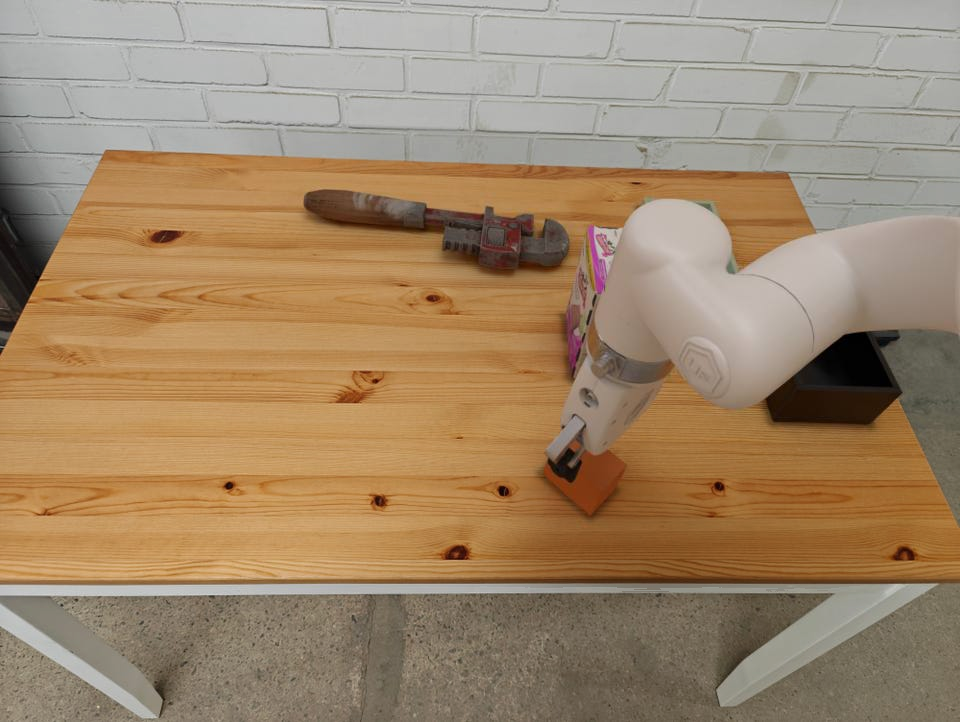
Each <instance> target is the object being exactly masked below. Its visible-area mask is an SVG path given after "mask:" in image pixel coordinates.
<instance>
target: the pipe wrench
mask: <svg viewBox="0 0 960 722" xmlns="http://www.w3.org/2000/svg"><path fill="white" fill-rule="evenodd" d="M302 201H303V202H302V203H303V207H304V209H305V210H306V211H308V212H311V213H313V214H314V215H317V216H320V217H322V218H327V219H331V220H336V221H341V222H346V223H347V222H349V223H356V224H357V223H359V224H367V225H369V224H370V225H378V226H393V227H394V226H396V227H407V228H413V229H414V228H415V229H422V230H423V229H424V228H425V227H426V225H427V226H436V227H443V228H444V232H443V237H442V244H441V245H442V246H441V251H442V252H446V251H449V252H450V253H454V252H457V253H458V254H463V253H466V254H467V255H472V254H475V256H478V261H477V263H478V265H482V266H485V267H489V268H494V269H495V268H496V269H506V270H515V269H518V267H519V262H528V263H535V264H536V263H537V264H540V265H542V266H543V267H554V266H557V265H559V264H560V263H561V262H562V261H563V260H564V259H565V258H566V257H567V255H568V253H569V250H570V246H571V245H570V244H571V243H570V237H569V234H568V231H567V229H566V228H565V227H564V226H563V225H562V224H561V223H559V222H558V221H557V220H554V219H551V218H544V223H543V227H542V237H534V235H533V234H534V226H535V225H534V224H535V219H534V218H535V215H534V214H532V213H531V214H530V213H523V214H518V215H516V216H515V217H510V216H509V217H508V216H501V215H496V214H495V207H494V206H489V205H485V208H484V213H476V212H475V213H474V212H467V211H457V210H451V209H441V208H433V207H428V205H427V203H426V202H422V201H413V200H406V199H401V198H395V197H390V196H384V195H379V194H372V193H368V192H367V193H365V192H361V191H360V192H359V191H354V190H346V189H327V188H323V189H318V190H311V191H307V192H306V193H304V196H303V200H302Z"/></svg>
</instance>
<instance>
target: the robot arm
mask: <svg viewBox="0 0 960 722" xmlns="http://www.w3.org/2000/svg"><path fill="white" fill-rule="evenodd" d="M681 199H682V198H681ZM681 199H680V198H660V199H659V200H654V201H651V202H648V203H646V204H644V205H642V206H641V205H640V206H638V207H637V208H636V209H634V211H633V212H632V213H631V214H630V216H629V217H628V218H627V220H626V221H625V223H624V225H623V227H622V228H623V230H622V232H621V235H620V238H619V241H618V244H617V247H616V250H615V253H614V257H613V260H612V263H611V266H610V269H609V272H608V275H607V278H606V281H605V284H604V287H603V290H602V293H601V296H600V299H599V303H598V306H597V309H596V311H595V315H594V318H593V321H592V324H591V327H590V330H589V333H588V336H587V340H586V350H587V354H588V355H587V357H586V359H585V361H584V363H583V365H582V367H581V369H580V370H579V373H578V375H577V377H576V379H574V381H573V384H572V385H571V388H570V390H569V392H568V395H567V397H566V400H565V402H564V406H563V408H562V411H561V415H560V421H559V426H560V429H561V431H560V432H559V433H558V434H557V436H556V437H555V438H554V439H553V440H552V441H551V443H550V444H549V445H548V446H547V447H546V448H545V450H544V452H543V455H544V456H546V457H547V459H548V458H549V459H548V464H549V466H551V470H552V471H553V472H554V473H555V474H556V475H557V476H558V477H560V478H564V479H565V480H567V481H568V482H569V483H572V482H573V481H574V480H575V479H576V476H577V474H578V472H579V469H580V467H581V465H582V461H581V458H582V456H583V455H584V454H585V452H586V451H588V452H589V453H591V454H592V455H600V454H602V453H604V452H605V451H606V450H607V449H608V450H609V448H610V447H612V446H613V445H614V444H615V443H616V442H617V441H618V440H619V439H620V438H621V437H622V436H623V435H624V434H625V433H626V432H627V431H628V430H629V429H630V428H631V427H632V426H633V425H634V424H635V423H636V422H637V421H638V420H639V419H640V418H641V417H642V416H643V415H644V413H646V412H647V411H648V410H649V408H650V407H651V406H652V405H653V403H654V402H655V400H656V399H657V397H658V395H659V392H660V390H661V388H662V386H663V383H664V382H665V380H666V379H667V378H668V377H669V375H670V374H671V373H672V371H673V369H674V368H676V369H677V371H678V372H679V374H680V375H681V376H682V378H683V379H684V380H685V381H686V383H687V384H688V385H689V386H690V387H691V389H692V390H694V391H695V392H696V393H697V394H698V396H700V397H701V398H702V399H704V400H705V401H706V402H708V403H709V404H712V405H713V406H715V407H718V408H721V409H724V410H731V411H738V410H739V411H740V410H744V409H748V408H750V407H753V406H755V405H758V404H759V403H761V402H762V401H763V400H766V399H765V398H766V397H768V396H769V395H770V394H771V393H773V392H774V391H775V390H776V389H778V388H779V387H780V386H781V385H782V384H784V383H785V382H786V381H787V380H789V379H790V378H791V377H792V376H794V375H795V374H796V373H797V372H798V371H800V370H801V369H802V368H803V367H804V366H805V365H807V364H808V363H809V362H810V361H811V360H813V359H814V358H815V357H816V356H818V355H819V354H820V353H821V352H823V351H824V350H825V349H826V348H827V347H829V346H830V345H831V344H833V343H834V342H835V341H837V340H838V339H839V338H840V337H842V336H843V335H844V334H849V333H856V332H865V331H872V332H879V331H895V330H896V331H898V330H929V331H941V332H946V333H951V334H954V335H957V336H958V339H959V340H960V216H950V215H938V214H920V215H907V216H900V217H893V218H887V219H882V220H876V221H870V222H865V223H860V224H856V225H852V226H846V227H841V228H836V229H830V230H825V231H822V232H817V233H813V234H809V235H805V236H801V237H798V238H795V239H793V240H790V241H788V242H785V243H783V244H781V245H779V246H777V247H775V248H774V249H773V248H772V250H770V251H768V252H767V253H765V254H764V255H762V256H759V257H758V258H756V259H755V260H754V261H752V262H751V263H749V264H748V265H746V266H745V267H743V268H742V269H739V272H737V273H736V274H734V275H732V274H729V273H728V272H727V271H726V268H727V266H728V264H729V261H730V258H731V253H732V252H733V242H732V237H731V234H730V231H729V229H728V228H727V226H726V224H725V223H724V222H723V221H722V220H721V218H720V219H719V218H718V217H717V216H716V215H715V214H714V213H712V212H711V211H709V210H708V209H706V208H704V207H702V206H700V205H698V204H696V203H693V202H690V201H686V200H687V199H682V200H681ZM583 430H584V432H583V433H582V431H583ZM575 440H577V441H578V442H579V443H580V444H581V446H580V447H579V448H578V450H577V451H576V452H574V451H573V450H572V449H570V448H569V447H570V445H571V444H572V443H573V442H574V441H575Z"/></svg>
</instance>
